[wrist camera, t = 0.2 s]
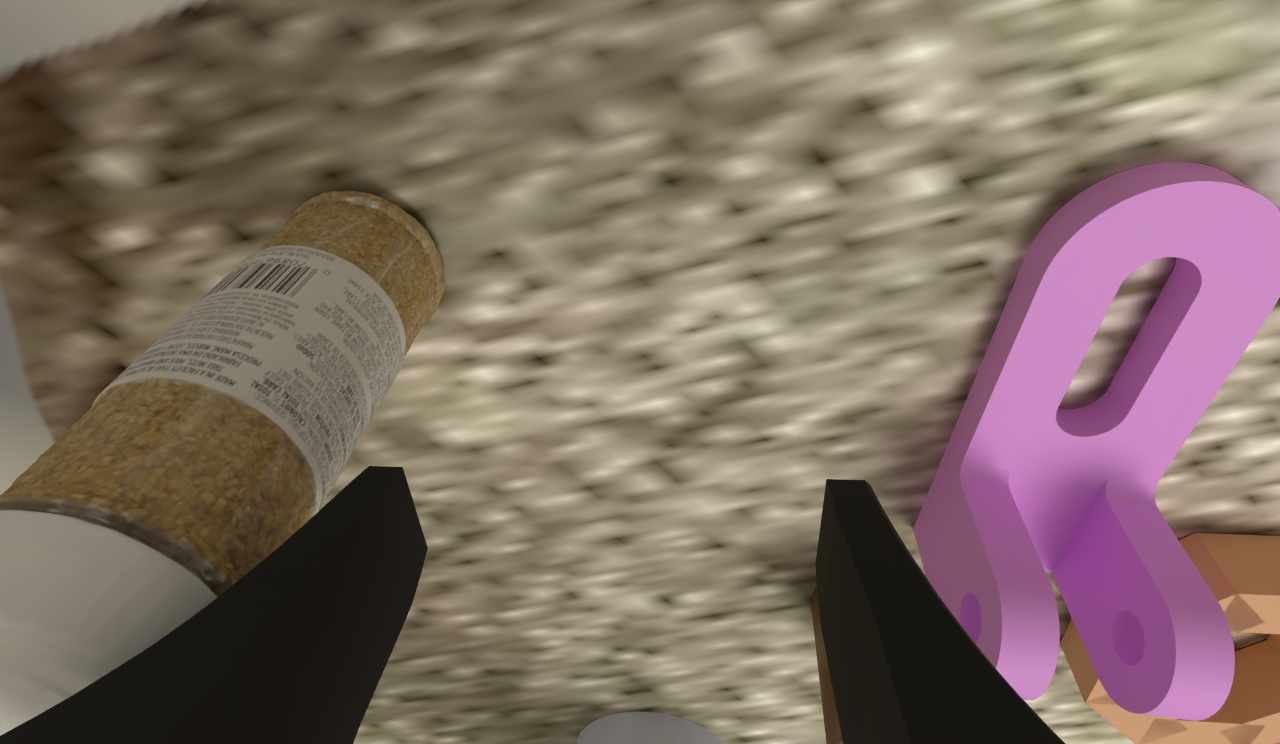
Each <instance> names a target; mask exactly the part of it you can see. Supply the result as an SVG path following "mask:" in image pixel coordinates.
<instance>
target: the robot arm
mask: <svg viewBox="0 0 1280 744" xmlns="http://www.w3.org/2000/svg"><path fill="white" fill-rule="evenodd" d="M427 549H428V548H427V545H426V541H425V538H424V535H423V532H422V528H421V525H420V522H419V519H418V516H417V512H416V509H415V506H414V503H413V499H412V496H411V493H410V490H409V487H408V483H407V480H406V477H405V474H404V470H403V467H378V466H369V467H368V468H366V469H365V470H364V471H363V472H362V473H361V474H359V475H358V476H357V477H356V478H355V479H354V480H353V481H352V482H350V483H349V484H348V485H347V486H346V487H345V488H344V489H343V490H342V491H341V492H339V493H338V494H337V495H336V496H335V497H334V498H333V499H332V500H331V501H330V502H328V503H327V504H326V505H325V506H324V507H323V508H322V509H321V510H320V511H319V512H318V513H316V514H315V515H314V516H313V517H312V518H311V519H310V520H309V521H308V522H306V523H305V524H304V525H303V526H302V527H301V528H300V529H299V530H297V531H296V532H295V533H294V534H293V535H292V536H291V537H289V538H288V539H287V540H286V541H285V542H284V543H283V544H282V545H280V546H279V547H278V548H277V549H276V550H275V551H274V552H272V553H271V554H270V555H269V556H268V557H267V558H265V559H264V560H263V561H262V562H260V563H259V564H258V565H257V566H256V567H254V568H253V569H252V570H251V571H249V572H248V573H247V574H246V575H245V576H243V577H242V578H241V579H240V580H238V581H237V582H236V583H235V584H234V585H232V586H231V587H230V588H229V589H227V590H226V591H225V592H224V593H223V594H221V595H220V596H219V597H218V598H216V599H215V600H214V601H212V602H211V603H210V604H208V605H207V606H206V607H205V608H203V609H202V610H201V611H199V612H198V613H196V614H195V615H194V616H192V617H191V618H190V619H188V620H187V621H186V622H184V623H183V624H181V625H180V626H178V627H177V628H176V629H174V630H173V631H171V632H170V633H169V634H167V635H166V636H164V637H163V638H161V639H160V640H159V641H157V642H156V643H154V644H153V645H151V646H150V647H148V648H147V649H145V650H144V651H142V652H141V653H139V654H138V655H136V656H135V657H133V658H131V659H130V660H128V661H127V662H125V663H123V664H122V665H120V666H119V667H117V668H116V669H114V670H112V671H111V672H109V673H108V674H106V675H104V676H103V677H101V678H100V679H98V680H96V681H95V682H93V683H92V684H90V685H89V686H87V687H85V688H84V689H82V690H81V691H79V692H77V693H76V694H74V695H72V696H70V697H69V698H67V699H65V700H64V701H62V702H60V703H58V704H57V705H55V706H53V707H51V708H50V709H48V710H46V711H44V712H43V713H41V714H39V715H37V716H36V717H34V718H32V719H30V720H28V721H26V722H25V723H23V724H21V725H19V726H17V727H15V728H14V729H12V730H10V731H8V732H6V733H4V734H3V735H1V736H0V744H353V742H354V739H355V737H356V734H357V732H358V729H359V726H360V724H361V721H362V719H363V717H364V715H365V712H366V710H367V708H368V705H369V703H370V701H371V698H372V696H373V694H374V691H375V689H376V687H377V685H378V682H379V680H380V678H381V675H382V673H383V671H384V668H385V666H386V664H387V661H388V659H389V657H390V655H391V652H392V650H393V648H394V645H395V643H396V641H397V638H398V636H399V633H400V631H401V629H402V626H403V624H404V622H405V619H406V617H407V615H408V612H409V610H410V607H411V605H412V602H413V599H414V595H415V592H416V589H417V585H418V582H419V579H420V575H421V571H422V568H423V564H424V560H425V556H426V553H427ZM816 576H817V589H818V602H819V614H820V624H821V629H822V635H823V640H824V646H825V651H826V656H827V662H828V667H829V672H830V677H831V682H832V688H833V693H834V698H835V703H836V708H837V714H838V719H839V724H840V729H841V734H842V739H843V744H1065V743H1064V742H1063V741H1062V740H1061V739H1060V738H1059V737H1058V736H1057V735H1056V734H1055V733H1054V732H1053V731H1052V730H1051V729H1050V728H1049V727H1048V726H1047V725H1046V724H1045V723H1044V721H1043V720H1042V719H1041V718H1040V717H1039V716H1038V715H1037V714H1036V713H1035V712H1034V711H1033V710H1032V709H1031V708H1030V706H1029V705H1028V704H1027V703H1026V702H1025V701H1024V700H1023V699H1022V698H1021V697H1020V696H1019V695H1018V693H1017V692H1016V691H1015V690H1014V689H1013V688H1012V687H1011V686H1010V684H1009V683H1008V682H1007V681H1006V680H1005V679H1004V678H1003V676H1002V675H1001V674H1000V673H999V672H998V671H997V670H996V668H995V667H994V666H993V665H992V664H991V662H990V661H989V660H988V659H987V658H986V656H985V655H984V654H983V653H982V652H981V650H980V649H979V648H978V647H977V645H976V644H975V643H974V642H973V640H972V639H971V638H970V637H969V635H968V634H967V633H966V631H965V630H964V629H963V627H962V626H961V625H960V624H959V622H958V621H957V620H956V618H955V617H954V616H953V615H952V613H951V612H950V610H949V609H948V608H947V606H946V605H945V604H944V602H943V601H942V599H941V598H940V597H939V595H938V594H937V592H936V591H935V590H934V588H933V587H932V585H931V584H930V582H929V581H928V579H927V578H926V576H925V575H924V574H923V572H922V571H921V569H920V568H919V566H918V565H917V563H916V562H915V560H914V559H913V557H912V556H911V554H910V553H909V551H908V550H907V548H906V546H905V545H904V543H903V542H902V540H901V538H900V537H899V535H898V533H897V532H896V530H895V529H894V527H893V525H892V523H891V522H890V520H889V518H888V517H887V515H886V513H885V511H884V510H883V508H882V506H881V504H880V502H879V501H878V499H877V497H876V495H875V493H874V491H873V489H872V487H871V486H870V485H869V484H868V483H867V482H866V481H865V480H833V479H827V480H826V488H825V496H824V503H823V511H822V519H821V526H820V534H819V542H818V550H817V557H816ZM576 744H723V743H722V742H721V741H720V740H719V739H718V738H717V737H716V736H715V735H714V734H713V733H712V732H710V731H709V730H707V729H706V728H704V727H702V726H700V725H698V724H696V723H694V722H692V721H689V720H687V719H684V718H681V717H677V716H673V715H669V714H664V713H656V712H637V711H633V712H623V713H616V714H612V715H608V716H605V717H602V718H600V719H597V720H595V721H593V722H592V723H590V724H588V725H587V726H586V727H585V728H584V729H583V730H582V731H581V732H580V734H579V736H578V738H577V743H576Z"/></svg>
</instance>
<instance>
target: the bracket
mask: <svg viewBox="0 0 1280 744" xmlns="http://www.w3.org/2000/svg"><path fill="white" fill-rule="evenodd" d="M1166 257H1176V263H1175V266H1174V269H1173V271H1172V273H1171V275H1170V277H1169V278H1168V280H1167V282H1166V284H1165V286H1164V288H1163V289H1162V291H1161V293H1160V295H1159V297H1158V299H1157V300H1156V302H1155V304H1154V306H1153V308H1152V309H1151V311H1150V313H1149V315H1148V317H1147V319H1146V320H1145V322H1144V324H1143V326H1142V328H1141V329H1140V331H1139V333H1138V335H1137V337H1136V339H1135V340H1134V342H1133V344H1132V346H1131V348H1130V350H1129V351H1128V353H1127V355H1126V357H1125V359H1124V360H1123V362H1122V364H1121V366H1120V368H1119V370H1118V371H1117V373H1116V375H1115V377H1114V379H1113V381H1112V382H1111V384H1110V386H1109V388H1108V389H1107V391H1106V392H1105V393H1104V394H1103V395H1102V396H1101V397H1100V398H1099V399H1098V400H1096V401H1095V402H1093V403H1091V404H1089V405H1087V406H1084V407H1081V408H1076V409H1059V408H1058V407H1059V405H1060V403H1061V401H1062V399H1063V397H1064V395H1065V393H1066V391H1067V389H1068V387H1069V385H1070V383H1071V381H1072V379H1073V377H1074V375H1075V373H1076V371H1077V369H1078V367H1079V365H1080V364H1081V362H1082V360H1083V358H1084V356H1085V354H1086V352H1087V350H1088V348H1089V346H1090V344H1091V342H1092V340H1093V338H1094V336H1095V334H1096V332H1097V330H1098V328H1099V326H1100V324H1101V322H1102V320H1103V318H1104V316H1105V314H1106V312H1107V310H1108V308H1109V307H1110V305H1111V303H1112V301H1113V299H1114V297H1115V295H1116V293H1117V291H1118V289H1119V287H1120V285H1121V284H1122V282H1123V281H1124V280H1125V278H1126V277H1127V276H1128V275H1129V274H1130V273H1132V272H1133V271H1134V270H1135V269H1137V268H1138V267H1140V266H1142V265H1144V264H1146V263H1148V262H1150V261H1153V260H1156V259H1160V258H1166ZM1279 297H1280V211H1279V210H1278V209H1277V208H1276V207H1275V206H1274V205H1273V204H1272V203H1271V202H1270V201H1269V200H1267V199H1266V198H1265V197H1263V196H1262V195H1260V194H1259V193H1257V192H1256V191H1254V190H1253V189H1251V188H1250V187H1248V186H1247V185H1245V184H1244V183H1242V182H1241V181H1239V180H1238V179H1236V178H1235V177H1233V176H1232V175H1230V174H1228V173H1226V172H1224V171H1222V170H1220V169H1217V168H1214V167H1211V166H1208V165H1204V164H1199V163H1192V162H1162V163H1153V164H1148V165H1143V166H1139V167H1135V168H1132V169H1128V170H1125V171H1123V172H1120V173H1117V174H1115V175H1112V176H1110V177H1108V178H1106V179H1104V180H1101V181H1099V182H1098V183H1096V184H1094V185H1092V186H1091V187H1089V188H1087V189H1085V190H1084V191H1082V192H1081V193H1080V194H1078V195H1077V196H1075V197H1074V198H1072V199H1071V200H1070V201H1069V202H1067V203H1066V204H1065V205H1064V206H1063V207H1062V208H1060V209H1059V210H1058V211H1057V212H1056V213H1055V214H1054V215H1053V216H1052V217H1051V218H1050V219H1049V221H1048V222H1047V223H1046V224H1045V225H1044V226H1043V228H1042V229H1041V230H1040V232H1039V233H1038V234H1037V236H1036V237H1035V239H1034V241H1033V242H1032V244H1031V246H1030V248H1029V250H1028V252H1027V254H1026V256H1025V258H1024V261H1023V263H1022V266H1021V268H1020V270H1019V273H1018V275H1017V278H1016V280H1015V282H1014V285H1013V287H1012V290H1011V292H1010V295H1009V297H1008V299H1007V302H1006V304H1005V307H1004V309H1003V312H1002V314H1001V316H1000V319H999V321H998V324H997V326H996V329H995V331H994V333H993V336H992V338H991V341H990V343H989V346H988V348H987V350H986V353H985V355H984V358H983V360H982V362H981V365H980V367H979V370H978V372H977V375H976V377H975V379H974V382H973V384H972V387H971V389H970V392H969V394H968V396H967V399H966V401H965V404H964V406H963V409H962V411H961V413H960V416H959V418H958V421H957V423H956V426H955V428H954V430H953V433H952V435H951V438H950V440H949V442H948V445H947V447H946V450H945V452H944V455H943V457H942V459H941V462H940V464H939V467H938V469H937V472H936V474H935V476H934V479H933V481H932V484H931V486H930V489H929V491H928V493H927V496H926V498H925V501H924V503H923V505H922V508H921V510H920V513H919V515H918V518H917V520H916V522H915V525H914V527H913V530H914V534H915V537H916V541H917V545H918V548H919V552H920V556H921V559H922V563H923V567H924V570H925V574H926V578H927V579H928V581H929V582H930V584H931V585H932V587H933V588H934V590H935V591H936V592H937V594H938V595H939V597H940V598H941V599H942V601H943V602H944V604H945V605H946V606H947V608H948V609H949V610H950V612H951V613H952V615H953V616H954V617H955V618H956V620H957V621H958V622H959V624H960V625H961V626H962V627H963V629H964V630H965V631H966V633H967V634H968V635H969V637H970V638H971V639H972V640H973V642H974V643H975V644H976V645H977V647H978V648H979V649H980V650H981V652H982V653H983V654H984V655H985V656H986V658H987V659H988V660H989V661H990V662H991V664H992V665H993V666H994V667H995V668H996V670H997V671H998V672H999V673H1000V674H1001V675H1002V676H1003V678H1004V679H1005V680H1006V681H1007V682H1008V683H1009V684H1010V686H1011V687H1012V688H1013V689H1014V690H1015V691H1016V692H1017V693H1018V695H1019V696H1020V697H1021V698H1022V699H1023V700H1034V699H1036V698H1038V697H1040V696H1041V695H1042V694H1043V693H1044V692H1045V691H1046V689H1047V688H1048V686H1049V684H1050V682H1051V680H1052V678H1053V675H1054V672H1055V669H1056V665H1057V660H1058V654H1059V642H1060V627H1059V616H1058V609H1057V604H1056V599H1055V595H1054V592H1053V589H1052V586H1051V584H1050V581H1049V579H1048V576H1047V574H1046V572H1051V573H1052V575H1053V577H1054V579H1055V582H1056V584H1057V586H1058V588H1059V591H1060V593H1061V595H1062V597H1063V600H1064V602H1065V604H1066V606H1067V609H1068V611H1069V613H1070V615H1071V617H1072V620H1073V622H1074V624H1075V626H1076V629H1077V631H1078V633H1079V635H1080V638H1081V640H1082V642H1083V644H1084V647H1085V649H1086V651H1087V653H1088V656H1089V658H1090V660H1091V662H1092V665H1093V667H1094V669H1095V671H1096V674H1097V676H1098V678H1099V680H1100V682H1101V684H1102V686H1103V688H1104V689H1105V691H1106V692H1107V694H1108V695H1109V696H1110V697H1111V699H1112V700H1113V701H1114V702H1115V703H1116V704H1117V705H1119V706H1120V707H1121V708H1123V709H1124V710H1126V711H1129V712H1131V713H1135V714H1143V715H1151V716H1159V717H1167V718H1175V719H1183V720H1192V721H1198V720H1203V719H1207V718H1209V717H1211V716H1212V715H1214V714H1215V713H1216V712H1217V711H1218V710H1219V709H1220V708H1221V707H1222V705H1223V704H1224V703H1225V701H1226V699H1227V697H1228V695H1229V692H1230V690H1231V686H1232V683H1233V677H1234V669H1235V653H1234V644H1233V638H1232V634H1231V630H1230V627H1229V624H1228V621H1227V618H1226V616H1225V614H1224V611H1223V609H1222V607H1221V606H1220V604H1219V602H1218V601H1217V599H1216V598H1215V596H1214V594H1213V593H1212V591H1211V590H1210V588H1209V587H1208V585H1207V584H1206V582H1205V581H1204V579H1203V577H1202V576H1201V574H1200V573H1199V571H1198V570H1197V568H1196V567H1195V565H1194V564H1193V562H1192V560H1191V559H1190V557H1189V556H1188V554H1187V553H1186V551H1185V550H1184V548H1183V547H1182V545H1181V543H1180V542H1179V540H1178V539H1177V537H1176V536H1175V534H1174V533H1173V531H1172V530H1171V528H1170V526H1169V525H1168V523H1167V522H1166V520H1165V519H1164V517H1163V516H1162V514H1161V513H1160V511H1159V510H1158V508H1157V506H1156V503H1155V488H1156V485H1157V483H1158V481H1159V480H1160V478H1161V477H1162V475H1163V474H1164V472H1165V471H1166V469H1167V468H1168V466H1169V465H1170V463H1171V462H1172V460H1173V459H1174V457H1175V456H1176V454H1177V453H1178V451H1179V450H1180V448H1181V447H1182V445H1183V444H1184V442H1185V441H1186V439H1187V438H1188V436H1189V435H1190V433H1191V431H1192V430H1193V428H1194V427H1195V425H1196V424H1197V422H1198V421H1199V419H1200V418H1201V416H1202V415H1203V413H1204V412H1205V410H1206V409H1207V407H1208V406H1209V404H1210V403H1211V401H1212V400H1213V398H1214V397H1215V395H1216V394H1217V392H1218V391H1219V389H1220V388H1221V386H1222V384H1223V383H1224V381H1225V380H1226V378H1227V377H1228V375H1229V374H1230V372H1231V371H1232V369H1233V368H1234V366H1235V365H1236V363H1237V362H1238V360H1239V359H1240V357H1241V356H1242V354H1243V353H1244V351H1245V350H1246V348H1247V347H1248V345H1249V344H1250V342H1251V341H1252V339H1253V337H1254V336H1255V334H1256V333H1257V331H1258V330H1259V328H1260V327H1261V325H1262V324H1263V322H1264V321H1265V319H1266V318H1267V316H1268V315H1269V313H1270V312H1271V310H1272V309H1273V307H1274V306H1275V304H1276V302H1277V301H1278V299H1279Z"/></svg>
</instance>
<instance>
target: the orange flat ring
mask: <svg viewBox="0 0 1280 744" xmlns="http://www.w3.org/2000/svg"><path fill="white" fill-rule="evenodd" d="M1179 542H1180V543H1181V545H1182V547H1183V548H1184V550H1185V551H1186V553H1187V554H1188V556H1189V557H1190V559H1191V560H1192V562H1193V564H1194V565H1195V567H1196V568H1197V570H1198V571H1199V573H1200V574H1201V576H1202V577H1203V579H1204V581H1205V582H1206V584H1207V585H1208V587H1209V588H1210V590H1211V591H1212V593H1213V594H1214V596H1215V598H1216V599H1217V601H1218V602H1219V604H1220V606H1221V607H1222V609H1223V611H1224V614H1225V616H1226V618H1227V621H1228V624H1229V627H1230V630H1231V634H1232V635H1233V634H1235V633H1238V632H1243V633H1263V634H1270V635H1269V636H1268V638H1267V639H1266V640H1265V641H1262V642H1260V643H1257V644H1254V645H1251V646H1249V647H1246V648H1243V649H1240V650H1237V651H1235V652H1234V653H1235V669H1234V677H1233V683H1232V686H1231V690H1230V692H1229V695H1228V697H1227V699H1226V701H1225V703H1224V704H1223V705H1222V707H1221V708H1220V709H1219V710H1218V711H1217V712H1216V713H1215V714H1214V715H1212V716H1211V717H1209V718H1207V719H1203V720H1198V721H1192V720H1183V719H1175V718H1167V717H1159V716H1151V715H1143V714H1135V713H1131V712H1129V711H1126V710H1124V709H1123V708H1121V707H1120V706H1119V705H1117V704H1116V703H1115V702H1114V701H1113V700H1112V699H1111V697H1110V696H1109V695H1108V694H1107V692H1106V691H1105V689H1104V688H1103V686H1102V684H1101V682H1100V680H1099V678H1098V676H1097V674H1096V671H1095V669H1094V667H1093V665H1092V662H1091V660H1090V658H1089V656H1088V653H1087V651H1086V649H1085V647H1084V644H1083V642H1082V640H1081V638H1080V635H1079V633H1078V631H1077V629H1076V626H1075V624H1074V622H1073V620H1072V618H1071V621H1070V623H1069V625H1068V627H1067V629H1066V631H1065V633H1064V635H1063V638H1062V640H1061V642H1060V644H1061V646H1062V648H1063V651H1064V653H1065V656H1066V658H1067V660H1068V663H1069V665H1070V667H1071V670H1072V672H1073V675H1074V677H1075V679H1076V682H1077V684H1078V687H1079V689H1080V691H1081V694H1082V696H1083V699H1084V701H1085V703H1086V704H1088V705H1089V706H1090V707H1091V708H1093V709H1094V710H1095V711H1096V712H1097V713H1099V714H1100V715H1101V716H1102V717H1103V718H1105V719H1106V720H1107V721H1108V722H1109V723H1111V724H1112V725H1113V726H1114V727H1116V728H1117V729H1118V730H1119V731H1120V732H1122V733H1123V734H1124V735H1125V736H1126V737H1128V738H1129V739H1130V740H1131V741H1133V742H1134V743H1135V744H1274V743H1277V742H1280V536H1269V535H1242V534H1216V533H1194V534H1192V535H1189V536H1187V537H1185V538H1183V539H1180V540H1179Z"/></svg>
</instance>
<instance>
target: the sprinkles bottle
mask: <svg viewBox="0 0 1280 744" xmlns="http://www.w3.org/2000/svg"><path fill="white" fill-rule="evenodd" d="M444 288H445V279H444V270H443V264H442V260H441V257H440V254H439V252H438V249H437V247H436V245H435V243H434V242H433V240H432V239H431V237H430V235H429V233H428V231H427V230H426V229H425V228H424V227H423V226H422V225H421V224H420V223H419V222H418V221H417V220H416V219H415V218H414V217H412V216H411V215H409V214H408V213H406V212H405V211H404V210H403V209H401V208H400V207H399V206H397V205H396V204H393V203H391V202H389V201H387V200H385V199H384V198H381V197H378V196H376V195H374V194H372V193H364V192H359V191H349V190H346V191H341V192H339V191H331V192H326V193H322V194H320V195H318V196H316V197H313V198H311V199H309V200H308V201H306V202H304V203H303V204H302V205H301V206H300V207H298V209H297V210H296V211H295V212H294V213H293V214H292V216H291V217H290V218H289V219H288V220H287V222H286V224H285V227H284V228H283V229H282V230H281V231H280V232H279V233H278V234H276V235H275V236H274V237H273V238H272V239H271V240H270V242H269V243H268V244H267V245H266V246H265V247H264V248H263V249H261V250H260V251H259V252H256V253H254V254H252V255H251V256H249V257H247V258H246V259H245V260H244V261H242V262H241V263H240V264H239V265H238V266H237V267H236V268H235V269H234V270H232V271H231V272H230V273H229V274H228V275H227V276H226V277H225V278H224V279H223V280H222V281H221V282H219V283H218V284H217V285H216V286H215V287H214V288H213V289H212V290H211V291H210V292H209V293H208V294H206V295H205V296H204V297H203V298H202V299H201V300H200V301H199V302H198V303H197V304H196V305H194V306H193V307H192V308H191V309H190V310H189V311H188V312H187V313H186V314H185V315H184V316H183V317H181V318H180V319H179V320H178V321H177V322H176V323H175V324H174V325H173V326H172V327H171V328H170V329H168V330H167V331H166V332H165V333H164V334H163V335H162V336H161V337H160V338H159V339H158V340H157V341H155V342H154V343H153V344H152V345H151V346H150V347H149V348H148V349H147V350H146V351H145V352H144V353H143V354H142V355H140V356H139V357H138V358H137V359H136V360H135V361H134V362H133V363H132V364H131V365H130V366H129V367H128V368H127V369H126V370H125V371H124V372H122V373H121V374H120V375H119V376H118V377H117V378H116V379H115V380H114V381H113V382H112V383H111V384H110V385H109V386H108V387H106V388H105V389H104V390H103V391H102V392H101V393H100V394H99V395H98V397H97V398H96V399H95V401H94V403H93V405H92V407H91V409H90V410H89V411H87V412H86V413H85V414H84V415H83V416H82V417H81V418H80V420H79V421H77V422H76V423H75V424H74V425H72V426H71V427H70V428H69V429H68V430H67V431H66V432H65V434H64V435H63V436H62V437H61V438H60V439H59V440H58V441H57V442H55V443H54V444H53V445H52V446H51V447H50V448H49V449H48V450H47V451H46V452H44V453H43V454H42V455H41V456H40V457H39V458H38V460H37V461H36V462H35V463H33V464H32V465H31V466H30V468H28V469H27V470H26V471H25V472H24V473H23V474H22V475H20V476H19V477H18V478H17V479H16V480H15V481H14V483H13V484H12V486H11V487H10V488H9V489H8V490H7V491H5V492H4V493H3V494H2V495H0V736H1V735H3V734H4V733H6V732H8V731H10V730H12V729H14V728H15V727H17V726H19V725H21V724H23V723H25V722H26V721H28V720H30V719H32V718H34V717H36V716H37V715H39V714H41V713H43V712H44V711H46V710H48V709H50V708H51V707H53V706H55V705H57V704H58V703H60V702H62V701H64V700H65V699H67V698H69V697H70V696H72V695H74V694H76V693H77V692H79V691H81V690H82V689H84V688H85V687H87V686H89V685H90V684H92V683H93V682H95V681H96V680H98V679H100V678H101V677H103V676H104V675H106V674H108V673H109V672H111V671H112V670H114V669H116V668H117V667H119V666H120V665H122V664H123V663H125V662H127V661H128V660H130V659H131V658H133V657H135V656H136V655H138V654H139V653H141V652H142V651H144V650H145V649H147V648H148V647H150V646H151V645H153V644H154V643H156V642H157V641H159V640H160V639H161V638H163V637H164V636H166V635H167V634H169V633H170V632H171V631H173V630H174V629H176V628H177V627H178V626H180V625H181V624H183V623H184V622H186V621H187V620H188V619H190V618H191V617H192V616H194V615H195V614H196V613H198V612H199V611H201V610H202V609H203V608H205V607H206V606H207V605H208V604H210V603H211V602H212V601H214V600H215V599H216V598H218V597H219V596H220V595H221V594H223V593H224V592H225V591H226V590H227V589H229V588H230V587H231V586H232V585H234V584H235V583H236V582H237V581H238V580H240V579H241V578H242V577H243V576H245V575H246V574H247V573H248V572H249V571H251V570H252V569H253V568H254V567H256V566H257V565H258V564H259V563H260V562H262V561H263V560H264V559H265V558H267V557H268V556H269V555H270V554H271V553H272V552H274V551H275V550H276V549H277V548H278V547H279V546H280V545H282V544H283V543H284V542H285V541H286V540H287V539H288V538H289V537H291V536H292V535H293V534H294V533H295V532H296V531H297V530H299V529H300V528H301V527H302V526H303V525H304V524H305V523H306V522H308V521H309V520H310V519H311V518H312V517H313V516H314V515H315V514H316V513H318V512H319V510H320V508H321V506H322V505H323V503H324V501H325V500H326V498H327V496H328V494H329V493H330V491H331V489H332V487H333V486H334V484H335V482H336V480H337V479H338V477H339V475H340V473H341V472H342V470H343V468H344V466H345V464H346V463H347V461H348V459H349V457H350V455H351V454H352V452H353V450H354V448H355V447H356V445H357V443H358V442H359V440H360V438H361V436H362V435H363V433H364V431H365V430H366V428H367V426H368V424H369V423H370V421H371V419H372V417H373V416H374V414H375V412H376V411H377V409H378V407H379V405H380V404H381V402H382V400H383V398H384V396H385V395H386V393H387V391H388V389H389V388H390V386H391V384H392V382H393V381H394V379H395V377H396V375H397V374H398V372H399V370H400V368H401V366H402V363H403V360H404V356H405V355H406V353H407V352H408V350H409V348H410V346H411V344H412V342H413V340H414V339H415V337H416V335H417V334H418V332H419V330H420V329H421V327H422V325H423V324H425V323H426V322H427V321H428V320H429V319H430V317H431V316H432V315H433V314H434V312H435V311H436V309H437V307H438V305H439V302H440V300H441V297H442V294H443V292H444Z"/></svg>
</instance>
